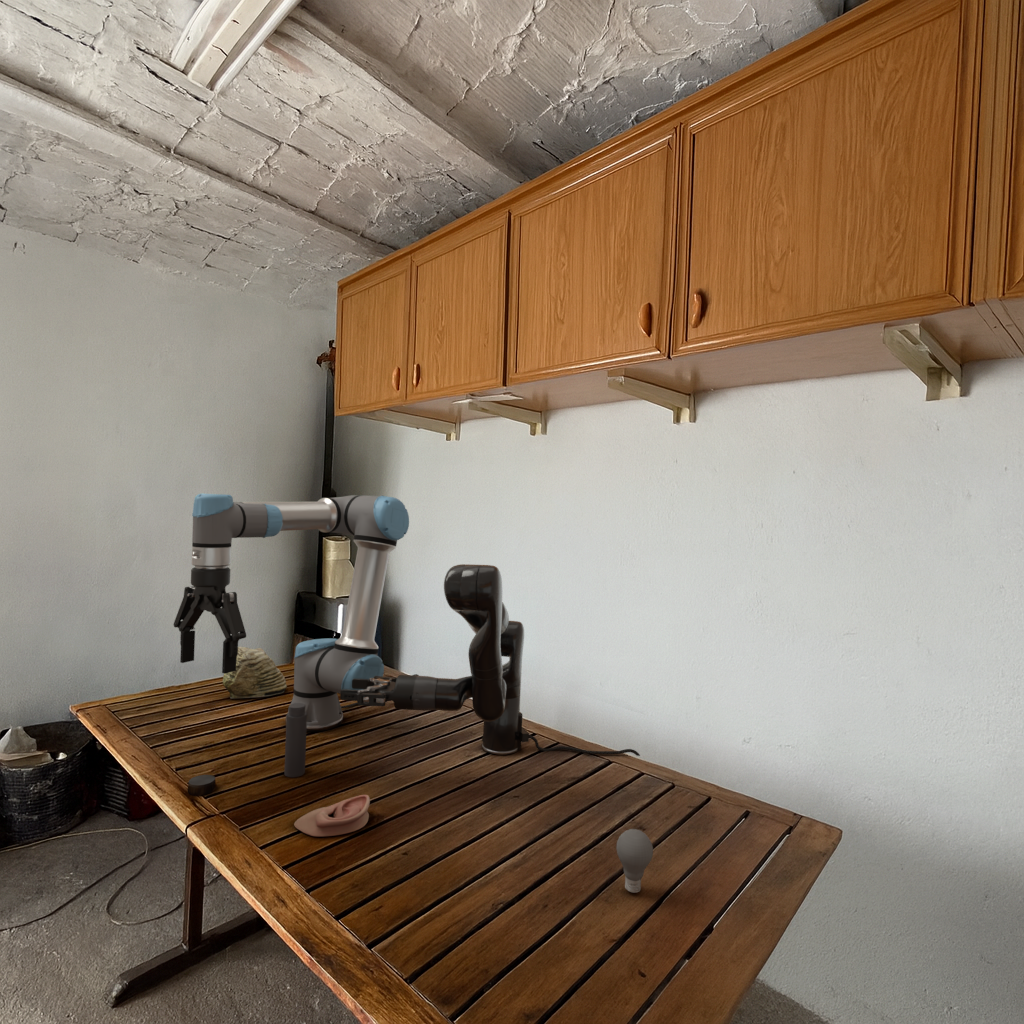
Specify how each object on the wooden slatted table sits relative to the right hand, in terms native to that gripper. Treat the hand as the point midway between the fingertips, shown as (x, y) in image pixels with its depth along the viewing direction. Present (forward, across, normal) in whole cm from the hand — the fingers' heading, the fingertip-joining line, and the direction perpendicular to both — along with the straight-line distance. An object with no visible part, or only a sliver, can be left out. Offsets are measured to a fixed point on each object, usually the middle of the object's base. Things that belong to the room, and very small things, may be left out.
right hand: (346, 688), depth 144 cm
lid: (+27, +11, +18) cm, 34 cm away
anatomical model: (-4, +21, +20) cm, 29 cm away
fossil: (+44, -52, +20) cm, 71 cm away
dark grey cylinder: (+11, 0, +20) cm, 23 cm away
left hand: (+27, +10, -6) cm, 30 cm away
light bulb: (-60, +36, +20) cm, 73 cm away
